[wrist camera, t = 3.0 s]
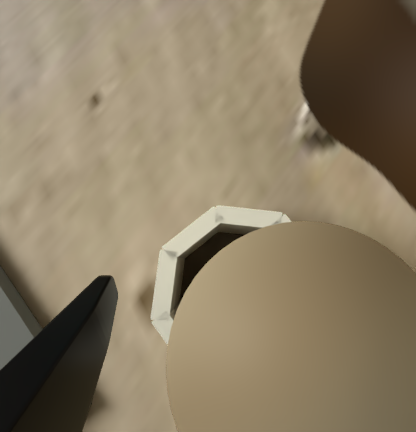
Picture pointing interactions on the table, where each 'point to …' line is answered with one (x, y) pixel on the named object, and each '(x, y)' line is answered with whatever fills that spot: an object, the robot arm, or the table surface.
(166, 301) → the holder cup
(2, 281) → the rubber mat
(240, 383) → the birch peg
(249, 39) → the table surface
